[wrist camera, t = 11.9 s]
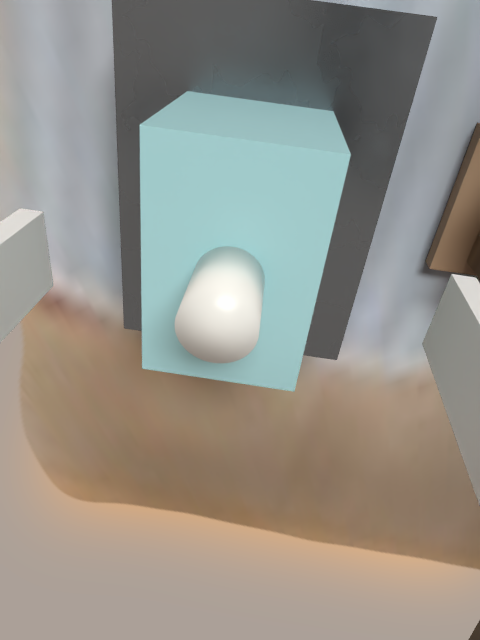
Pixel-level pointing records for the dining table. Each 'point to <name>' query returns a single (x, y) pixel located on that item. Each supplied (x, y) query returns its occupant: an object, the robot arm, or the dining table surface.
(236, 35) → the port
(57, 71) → the dining table surface
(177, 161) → the teal and white block
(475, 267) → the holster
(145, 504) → the dining table surface
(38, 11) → the dining table surface
